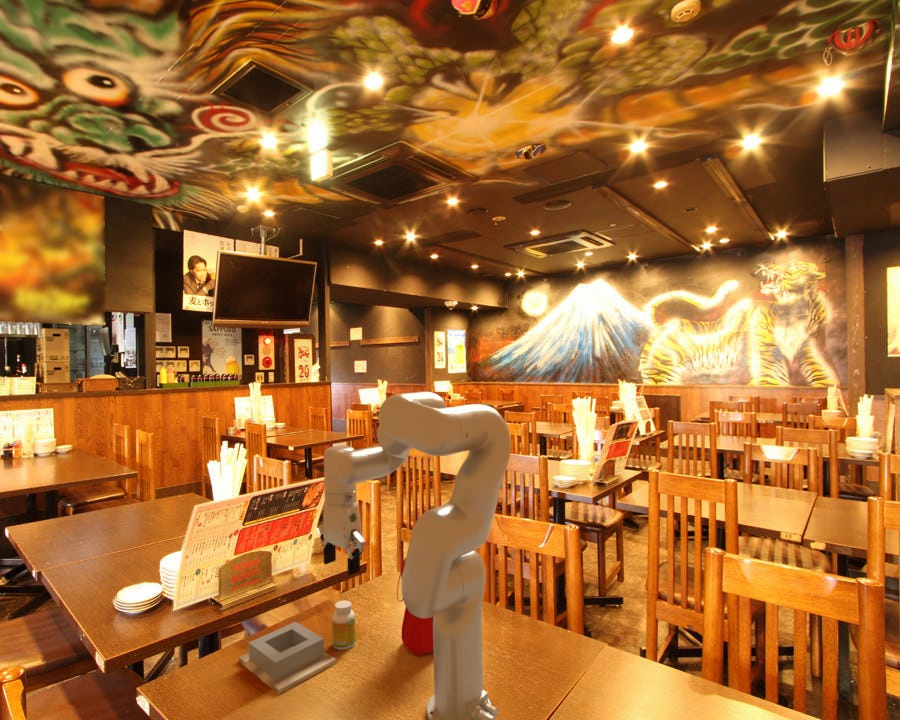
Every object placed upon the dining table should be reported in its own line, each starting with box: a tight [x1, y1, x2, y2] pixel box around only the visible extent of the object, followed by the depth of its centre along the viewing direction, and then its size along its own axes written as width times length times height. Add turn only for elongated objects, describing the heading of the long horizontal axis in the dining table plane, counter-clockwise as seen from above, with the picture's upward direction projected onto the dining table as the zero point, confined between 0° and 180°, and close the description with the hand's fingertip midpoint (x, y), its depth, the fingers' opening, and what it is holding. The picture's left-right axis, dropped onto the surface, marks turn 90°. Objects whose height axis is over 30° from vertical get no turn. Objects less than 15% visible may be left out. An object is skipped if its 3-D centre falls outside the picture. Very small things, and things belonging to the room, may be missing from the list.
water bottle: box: [396, 557, 434, 657], centre depth 121 cm, size 9×11×25 cm
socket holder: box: [248, 621, 325, 681], centre depth 116 cm, size 12×12×4 cm
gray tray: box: [238, 646, 337, 695], centre depth 116 cm, size 18×14×1 cm
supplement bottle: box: [331, 600, 356, 651], centre depth 123 cm, size 5×5×10 cm
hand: (341, 567), depth 123 cm, fingers open, 9 cm apart
